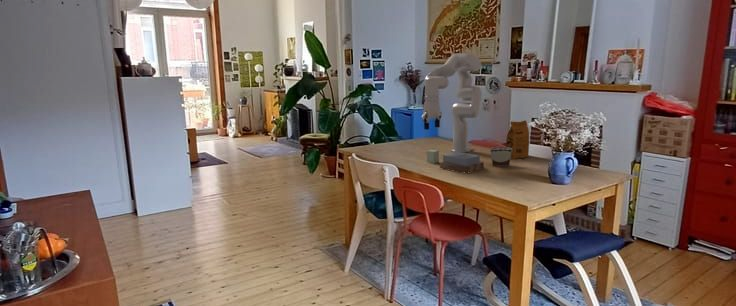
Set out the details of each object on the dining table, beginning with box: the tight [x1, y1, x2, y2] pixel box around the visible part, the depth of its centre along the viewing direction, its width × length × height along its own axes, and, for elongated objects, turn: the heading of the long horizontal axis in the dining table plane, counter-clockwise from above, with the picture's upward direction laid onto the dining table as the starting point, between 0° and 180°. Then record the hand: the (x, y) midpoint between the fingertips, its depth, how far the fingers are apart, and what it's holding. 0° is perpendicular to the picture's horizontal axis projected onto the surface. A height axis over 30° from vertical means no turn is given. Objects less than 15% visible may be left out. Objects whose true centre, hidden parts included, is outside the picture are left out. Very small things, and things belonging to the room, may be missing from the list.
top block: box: [442, 152, 481, 166], centre depth 263 cm, size 12×16×4 cm
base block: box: [439, 161, 485, 174], centre depth 264 cm, size 16×18×4 cm
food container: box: [489, 146, 513, 167], centre depth 268 cm, size 12×6×10 cm, turn 84°
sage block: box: [426, 149, 440, 164], centre depth 281 cm, size 5×5×7 cm
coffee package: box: [505, 120, 530, 160], centre depth 285 cm, size 10×12×22 cm
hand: (432, 128), depth 277 cm, fingers open, 9 cm apart
